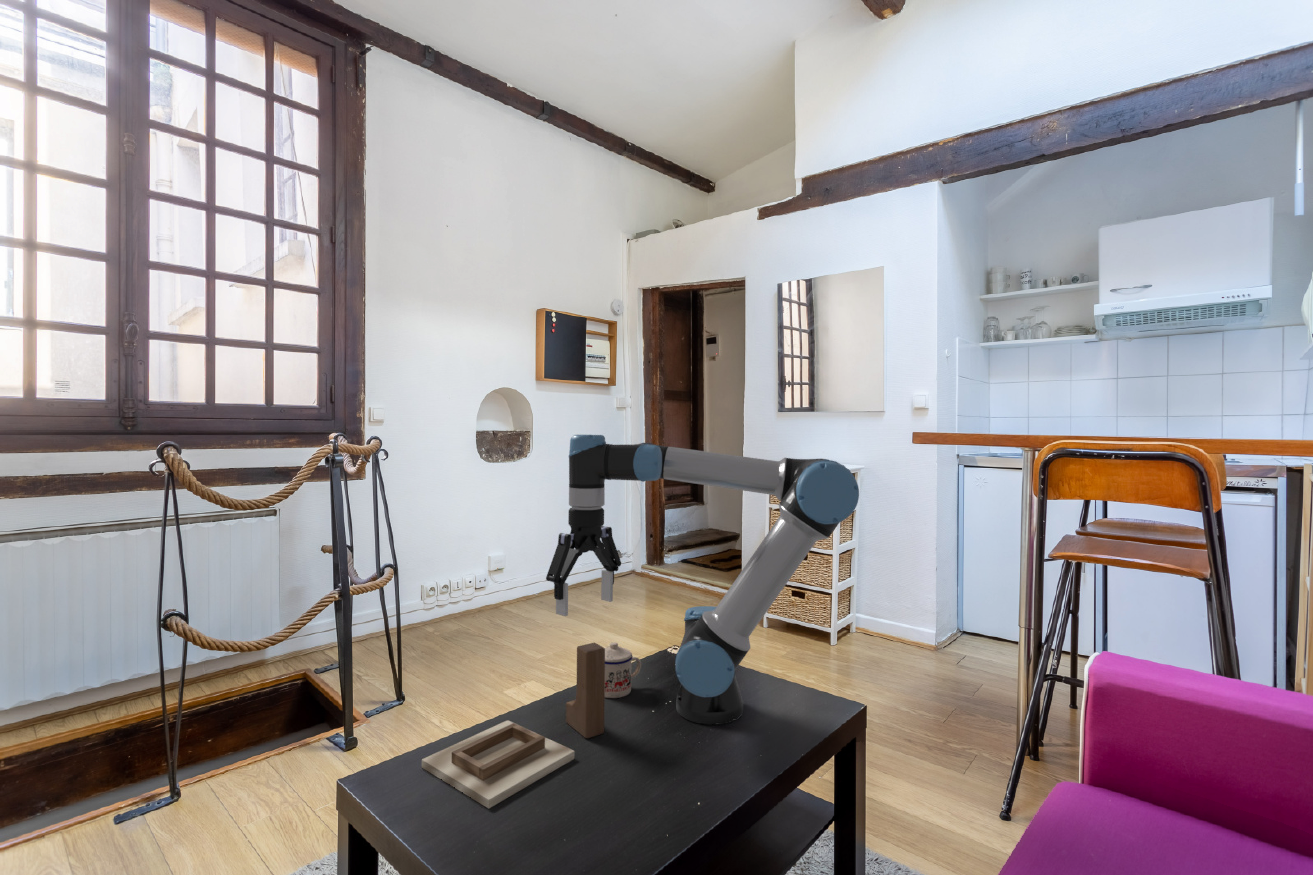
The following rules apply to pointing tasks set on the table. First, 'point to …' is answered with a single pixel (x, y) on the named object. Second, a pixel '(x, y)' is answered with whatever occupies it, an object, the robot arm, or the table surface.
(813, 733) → the table surface
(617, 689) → the teacup with lid
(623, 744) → the table surface
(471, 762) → the keyed plate
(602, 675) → the wooden block
